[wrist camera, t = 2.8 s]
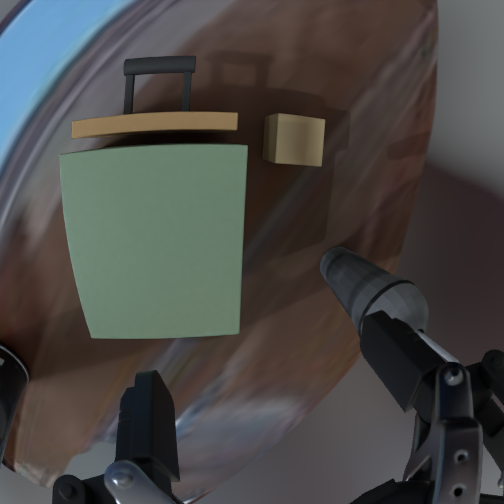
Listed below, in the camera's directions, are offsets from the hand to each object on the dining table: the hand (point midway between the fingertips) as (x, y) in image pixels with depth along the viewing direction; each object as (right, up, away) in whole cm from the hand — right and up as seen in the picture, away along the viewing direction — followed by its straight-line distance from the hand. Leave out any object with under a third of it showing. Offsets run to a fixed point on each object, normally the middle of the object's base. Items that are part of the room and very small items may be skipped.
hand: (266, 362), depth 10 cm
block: (+3, +15, +17) cm, 23 cm away
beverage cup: (+10, +3, +24) cm, 26 cm away
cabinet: (-9, +7, +17) cm, 21 cm away
